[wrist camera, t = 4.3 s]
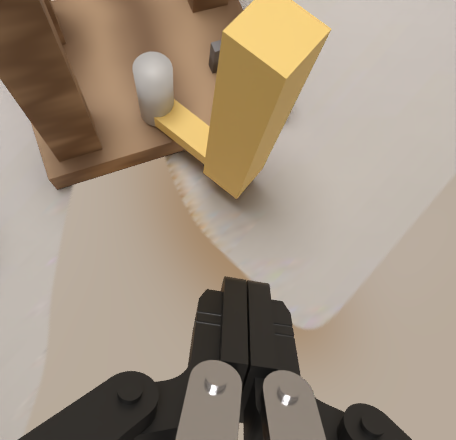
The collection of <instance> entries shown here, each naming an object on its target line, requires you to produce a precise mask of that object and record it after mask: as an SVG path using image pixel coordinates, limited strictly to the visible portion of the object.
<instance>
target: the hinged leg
mask: <svg viewBox="0 0 456 440" xmlns="http://www.w3.org/2000/svg"><path fill="white" fill-rule="evenodd" d="M330 31H331V28H329V27H328V26H327V25H325V24H324V23H322V22H321V21H320V20H318V19H317V18H316V17H314V16H313V15H311V14H310V13H309V12H307V11H306V10H305V9H303V8H302V7H300V6H299V5H298V4H296V3H295V2H294V1H292V0H254V1H253V2H252V3H251V4H250V5H249V6H248V7H247V8H246V9H245V10H243V11H242V12H241V13H240V14H239V15H238V16H237V17H236V18H235V19H234V20H233V21H232V22H231V23H230V24H229V25H228V26H227V27H226V28H225V29H224V30H223V31H222V39H221V46H220V53H219V61H218V68H217V75H216V83H215V90H214V97H213V105H212V112H211V119H210V126H208V125H207V124H206V123H205V122H203V121H202V120H201V119H199V118H198V117H197V116H196V115H194V114H193V113H192V112H190V111H189V110H188V109H187V108H185V107H184V106H183V105H181V104H180V103H179V102H178V101H176V100H175V99H174V92H173V67H172V63H171V61H170V60H169V59H168V58H167V57H166V56H165V55H163V54H161V53H159V52H146V53H143V54H141V55H139V56H138V57H137V58H136V59H135V61H134V63H133V75H134V81H135V86H136V91H137V97H138V102H139V108H140V113H141V117H142V119H143V120H144V121H145V122H146V123H147V124H149V125H151V126H156V127H157V128H159V129H160V130H161V131H162V132H164V133H165V134H166V135H167V136H169V137H170V138H171V139H172V140H174V141H175V142H176V143H178V144H179V145H180V146H181V147H183V148H184V149H185V150H186V151H188V152H189V153H190V154H191V155H193V156H194V157H195V158H197V159H198V160H199V161H200V162H202V163H203V164H204V170H203V173H204V174H205V175H206V176H208V177H209V178H210V179H212V180H213V181H214V182H215V183H217V184H218V185H219V186H220V187H222V188H223V189H224V190H225V191H227V192H228V193H229V194H230V195H232V196H233V197H234V198H236V199H237V198H238V197H239V196H240V195H241V194H242V192H243V191H244V190H245V189H246V188H247V186H248V185H249V184H250V183H251V182H252V181H253V179H254V178H255V177H256V176H257V175H258V173H259V172H260V171H261V170H262V169H263V167H264V164H265V162H266V160H267V158H268V156H269V154H270V152H271V150H272V148H273V146H274V144H275V142H276V140H277V138H278V136H279V134H280V132H281V130H282V128H283V126H284V124H285V122H286V120H287V118H288V116H289V114H290V112H291V110H292V108H293V106H294V104H295V102H296V100H297V98H298V96H299V94H300V92H301V90H302V87H303V85H304V83H305V81H306V79H307V77H308V75H309V73H310V71H311V69H312V67H313V65H314V63H315V61H316V59H317V57H318V55H319V53H320V51H321V49H322V47H323V45H324V43H325V41H326V39H327V37H328V35H329V33H330Z"/></svg>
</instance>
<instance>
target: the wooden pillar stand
mask: <svg viewBox="0 0 456 440" xmlns="http://www.w3.org/2000/svg"><path fill="white" fill-rule="evenodd" d="M242 11H243V9H242V7H241V5H240V2H239V0H54V1H51V0H0V79H1V81H2V82H3V83H4V85H5V86H6V88H7V89H8V90H9V92H10V93H11V95H12V96H13V97H14V99H15V100H16V102H17V103H18V104H19V106H20V107H21V109H22V110H23V111H24V113H25V114H26V116H27V117H28V118H29V120H30V121H31V124H32V127H33V130H34V134H35V137H36V140H37V143H38V147H39V150H40V153H41V156H42V159H43V163H44V166H45V169H46V172H47V176H48V179H49V180H50V182H51V183H52V184H53V185H54V186H55V187H56V189H57V190H58V189H61V188H64V187H67V186H70V185H74V184H77V183H80V182H83V181H86V180H89V179H93V178H96V177H99V176H103V175H106V174H109V173H112V172H115V171H119V170H122V169H125V168H128V167H131V166H135V165H138V164H141V163H144V162H148V161H151V160H154V159H157V158H160V157H164V156H167V155H170V154H173V153H177V152H180V151H183V150H185V149H184V148H183V147H181V146H180V145H179V144H178V143H176V142H175V141H174V140H172V139H171V138H170V137H169V136H167V135H166V134H165V133H164V132H162V131H161V130H160V129H159V128H157V127H156V126H151V125H149V124H147V123H146V122H145V121H144V120H143V119H142V117H141V113H140V108H139V102H138V97H137V91H136V86H135V81H134V75H133V63H134V61H135V59H136V58H137V57H138V56H139V55H141V54H143V53H146V52H159V53H161V54H163V55H165V56H166V57H167V58H168V59H169V60H170V61H171V63H172V67H173V92H174V99H175V100H176V101H178V102H179V103H180V104H181V105H183V106H184V107H185V108H187V109H188V110H189V111H190V112H192V113H193V114H194V115H196V116H197V117H198V118H199V119H201V120H202V121H203V122H205V123H206V124H207V125H208V126H210V119H211V112H212V105H213V97H214V90H215V83H216V75H217V68H218V61H219V53H220V46H221V39H222V31H223V30H224V29H225V28H226V27H227V26H228V25H229V24H230V23H231V22H232V21H233V20H234V19H235V18H236V17H237V16H238V15H239V14H240V13H241V12H242Z"/></svg>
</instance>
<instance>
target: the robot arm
mask: <svg viewBox="0 0 456 440" xmlns="http://www.w3.org/2000/svg"><path fill="white" fill-rule="evenodd" d="M239 422H240V423H244V440H412V439H411V438H410V437H409V436H407V434H406V433H404V432H403V431H402V430H401V429H400V428H399V427H398V426H397V425H396V424H395V423H394V422H393V421H392V420H391V419H390V418H389V417H388V416H386V415H385V414H384V413H383V412H382V411H380V410H379V409H377V408H375V407H373V406H370V405H367V404H361V403H358V404H353V405H351V406H349V407H348V408H347V409H346V411H345V412H343V411H340V410H338V409H336V408H334V407H332V406H329V405H327V404H325V403H323V402H321V401H320V400H318V399H316V398H315V397H314V393H313V390H312V388H311V386H310V385H309V384H308V382H307V381H306V380H305V379H303V378H302V377H301V376H300V370H299V364H298V357H297V351H296V346H295V339H294V332H293V328H292V320H291V314H290V312H289V310H288V309H287V307H286V306H285V304H284V303H283V301H277V300H271V294H270V285H269V284H268V283H261V282H255V281H249V280H248V281H247V282H246V280H243V279H237V278H231V277H224V279H223V284H222V288H221V291H215V290H209V289H207V290H206V291H205V292H204V293H203V294H202V296H201V297H200V298H199V302H198V307H197V312H196V317H195V323H194V328H193V333H192V342H191V348H190V356H189V362H188V368H187V369H186V370H185V371H184V373H182V374H181V375H179V376H178V377H176V378H173V379H170V380H166V381H160V382H154V381H153V380H152V379H151V378H150V377H149V376H147V375H145V374H143V373H140V372H136V371H127V372H122V373H119V374H116V375H114V376H113V377H111V378H109V379H108V380H107V381H105V382H104V383H102V384H101V385H99V386H98V387H96V388H95V389H93V390H92V391H90V392H89V393H87V394H86V395H84V396H83V397H81V398H80V399H78V400H77V401H75V402H74V403H72V404H71V405H69V406H68V407H66V408H65V409H63V410H62V411H60V412H59V413H57V414H56V415H54V416H53V417H51V418H50V419H48V420H47V421H45V422H44V423H42V424H41V425H39V426H38V427H36V428H35V429H33V430H32V431H30V432H29V433H27V434H26V435H24V436H23V437H21V438H20V439H18V440H238V429H239Z"/></svg>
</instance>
